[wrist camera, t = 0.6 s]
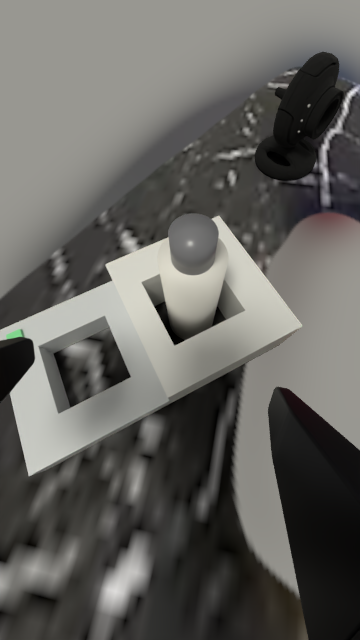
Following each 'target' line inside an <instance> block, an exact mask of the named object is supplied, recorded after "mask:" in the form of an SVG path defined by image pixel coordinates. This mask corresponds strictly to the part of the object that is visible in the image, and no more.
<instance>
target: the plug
mask: <svg viewBox="0 0 360 640" xmlns="http://www.w3.org/2000/svg"><path fill="white" fill-rule="evenodd" d="M218 236H219V231H218V227H217V225H216V224H215V222H214V221H213V220H212V219H210V218H209V217H207V216H205V215H201V214H186V215H183V216H180V217H179V218H177V219H176V220H174V222H173V223H172V224H171V226H170V228H169V231H168V238H167V239H166V240H165V241H164V242H163V243H162V245H161V246H160V248H159V251H158V257H157V260H158V266H159V271H160V277H161V282H162V287H163V292H164V297H165V302H166V307H167V312H168V317H169V322H170V327H171V329H172V331H173V332H174V333H175V334H176V335H177V336H178V337H180V338H182V339H184V340H187V339H189V338H191V337H193V336H195V335H197V334H199V333H201V332H203V331H205V330H207V329H209V328H211V327H212V324H213V320H214V316H215V312H216V308H217V304H218V300H219V296H220V292H221V289H222V285H223V281H224V277H225V273H226V269H227V265H228V258H229V257H228V251H227V248H226V246H225V245H224V243H223V242H222V241H221V239H219V238H218Z"/></svg>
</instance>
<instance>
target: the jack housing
mask: <svg viewBox="0 0 360 640" xmlns="http://www.w3.org/2000/svg"><path fill="white" fill-rule="evenodd" d="M212 220H213V221H214V222H215V224H216V225H217V227H218V231H219V236H218V238H219V239H221V241H222V242H223V243H224V245H225V246H226V248H227V251H228V257H229V258H228V265H227V269H226V273H225V277H224V281H223V285H222V289H221V292H220V296H219V300H218V304H217V306H218V308H219V309H220V311H221V313H222V314H223V316H224V317H225V319H226V320H225V321H223V322H221V323H219V324H217V325H215V326H213V327H211V328H209V329H207V330H205V331H203V332H201V333H199V334H197V335H195V336H193V337H191V338H189V339H187V340H185V341H183V342H181V343H179V344H177V345H175V346H174V344H173V342H172V340H171V338H170V336H169V334H168V332H167V330H166V329H165V327H164V325H163V323H162V321H161V319H160V317H159V315H158V313H157V311H156V309H155V307H154V306H156V305H158V304H160V303H162V302H164V301H165V297H164V292H163V287H162V282H161V277H160V271H159V266H158V260H157V257H158V251H159V248H160V246H161V245H162V243H163V242H164V241H165V240H166V239H167V238H166V239H164V240H161V241H159V242H157V243H154V244H152V245H150V246H147V247H145V248H143V249H140V250H138V251H135V252H133V253H131V254H128V255H126V256H124V257H121V258H119V259H117V260H114V261H112V262H110V263H107V264H105V265H106V267H107V269H108V271H109V274H110V276H111V278H112V280H113V281H111V282H108V283H106V284H104V285H101V286H99V287H97V288H95V289H92V290H90V291H88V292H86V293H83V294H81V295H79V296H76V297H74V298H72V299H70V300H67V301H65V302H63V303H61V304H58V305H56V306H54V307H51V308H49V309H47V310H45V311H42V312H40V313H38V314H35V315H33V316H31V317H29V318H26V319H24V320H22V321H20V322H17V323H15V324H13V325H10V326H8V327H6V328H4V329H1V330H0V341H1V340H6V339H11V338H16V337H25V338H30V339H31V340H32V341H33V344H34V352H35V361H34V363H33V365H32V366H31V367H30V369H29V370H28V371H27V372H26V374H25V375H24V376H23V377H22V379H21V380H20V381H19V382H18V383H17V385H16V386H15V387H14V388H13V390H12V391H11V392H10V396H11V400H12V405H13V409H14V413H15V418H16V422H17V426H18V431H19V435H20V440H21V444H22V448H23V453H24V457H25V461H26V466H27V470H28V474H29V476H31V475H34V474H36V473H39V472H42V471H45V470H47V469H49V468H51V467H53V466H55V465H57V464H59V463H61V462H62V461H64V460H66V459H68V458H70V457H72V456H74V455H75V454H77V453H79V452H81V451H83V450H85V449H87V448H89V447H90V446H92V445H94V444H96V443H98V442H100V441H102V440H103V439H105V438H107V437H109V436H111V435H113V434H115V433H116V432H118V431H120V430H122V429H124V428H126V427H128V426H129V425H131V424H133V423H135V422H137V421H139V420H141V419H142V418H144V417H146V416H148V415H150V414H152V413H154V412H155V411H157V410H159V409H161V408H163V407H165V406H167V405H169V404H170V403H172V402H174V401H176V400H178V399H180V398H182V397H183V396H185V395H187V394H189V393H191V392H193V391H195V390H196V389H198V388H200V387H202V386H204V385H206V384H208V383H209V382H211V381H213V380H215V379H217V378H219V377H221V376H222V375H224V374H226V373H228V372H230V371H232V370H234V369H236V368H237V367H239V366H241V365H243V364H245V363H247V362H249V361H250V360H252V359H254V358H256V357H258V356H260V355H262V354H263V353H265V352H267V351H269V350H271V349H273V348H274V347H276V346H278V345H280V344H281V343H282V342H283V341H285V340H286V339H287V338H288V337H290V336H291V335H292V334H293V333H295V332H296V331H297V330H298V329H300V328H301V327H302V324H301V323H300V322H299V320H298V319H297V318H296V317H295V315H294V314H293V313H292V311H291V310H290V309H289V307H288V306H287V305H286V303H285V302H284V301H283V300H282V298H281V297H280V295H279V294H278V293H277V291H276V290H275V289H274V288H273V286H272V285H271V284H270V282H269V281H268V280H267V278H266V277H265V276H264V274H263V273H262V272H261V270H260V269H259V268H258V266H257V265H256V264H255V262H254V261H253V260H252V258H251V257H250V256H249V255H248V253H247V252H246V251H245V249H244V248H243V247H242V245H241V244H240V243H239V241H238V240H237V239H236V237H235V236H234V235H233V233H232V232H231V231H230V230H229V228H228V227H227V226H226V224H225V223H224V222H223V220H222V219H221V218H220V216H217V217H215V218H213V219H212ZM109 327H110V329H111V331H112V334H113V336H114V338H115V341H116V343H117V345H118V348H119V350H120V352H121V355H122V357H123V359H124V362H125V364H126V366H127V369H128V371H129V373H130V376H131V377H130V378H128V379H126V380H125V381H123V382H121V383H119V384H117V385H115V386H113V387H111V388H109V389H107V390H105V391H103V392H101V393H99V394H97V395H95V396H93V397H91V398H89V399H87V400H85V401H83V402H81V403H79V404H77V405H75V406H73V407H70V404H69V401H68V398H67V395H66V392H65V388H64V385H63V382H62V379H61V376H60V373H59V369H58V366H57V363H56V360H55V357H54V354H53V353H55V352H58V351H60V350H62V349H64V348H66V347H68V346H70V345H73V344H75V343H77V342H79V341H81V340H83V339H85V338H88V337H90V336H92V335H94V334H96V333H98V332H100V331H102V330H105V329H107V328H109Z"/></svg>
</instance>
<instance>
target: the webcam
mask: <svg viewBox="0 0 360 640" xmlns="http://www.w3.org/2000/svg"><path fill="white" fill-rule="evenodd" d="M338 73H339V61H338V59H337V58H336V57H335V56H334V55H333V54H330V53H326V52H321V53H318V54H316V55H314V56H313V57H311V58H310V59H309V60H308V61H307V62H306V63H305V64H304V65H303V67H302V68H301V69H300V70H299V71H298V72H297V74H296V75H295V77H294V78H293V80H292V81H291V83H290V84H289V86H288V88H287V90H285V89H282V88H279V87H278V88H277V89H276V91H275V95H276V96H277V97H279V98H280V99H281V100H282V101H281V103H280V105H279V108H278V112H277V114H276V118H275V123H274V128H273V134H274V136H271V137H268V138H266V139H265V140H263V141H262V142H261V143H260V144H259V146H258V147H257V150H256V152H255V161H256V164H257V166H258V167H259V169H260V170H261V171H262V172H263V173H265V174H266V175H268V176H270V177H272V178H276V179H279V180H291V179H298V178H301V177H303V176H305V175H306V174H308V173H309V172H310V171H311V170H312V168H313V167H314V165H315V162H316V151H315V149H314V147H313V146H312V145H311V144H310V143H309V142H308V141H306V140H305V139H303V138H304V137H305V136H308V137H310V138H312V139H316V138H318V137H319V136H320V135H321V134H322V133H323V132H324V131H325V129H326V128H327V127H328V125H329V124H330V123H331V121H332V119H333V118H334V116H335V114H336V113H337V111H338V109H339V107H340V104H341V102H342V99H343V95H344V93H343V91H341V90H339V89H337V88H335V84H336V81H337V77H338ZM269 151H272V152H275V153H278V154H280V155H282V156H283V157H284V158H286V159H287V160H288V161H289V163H290V166H282V165H278V164H276V163H274V162H272V161H271V160H270V159H269V158H268V157H267V152H269Z"/></svg>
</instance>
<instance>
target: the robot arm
mask: <svg viewBox="0 0 360 640" xmlns="http://www.w3.org/2000/svg"><path fill="white" fill-rule="evenodd" d="M34 361H35V352H34V344H33V341H32V340H31V339H30V338H25V337H16V338H11V339H6V340H1V341H0V403H1V402H2V401H3V400H4V399H5V398H6V397H7V396H8V394H9V393H10V392H11V391H12V390H13V388H14V387H15V386H16V385H17V383H18V382H19V381H20V380H21V379H22V377H23V376H24V375H25V374H26V372H27V371H28V370H29V369H30V367H31V366H32V365H33V363H34ZM268 416H269V427H270V440H271V451H272V459H273V464H274V469H275V474H276V479H277V484H278V489H279V494H280V499H281V504H282V509H283V514H284V519H285V524H286V529H287V534H288V539H289V544H290V549H291V554H292V558H293V563H294V569H295V574H296V579H297V584H298V589H299V594H300V599H301V604H302V609H303V614H304V619H305V624H306V629H307V634H308V639H309V640H360V450H359V449H357V448H356V447H355V446H354V445H353V444H352V443H350V442H349V441H348V440H347V439H346V438H345V437H344V436H343V435H341V434H340V433H339V432H338V431H337V430H335V429H334V428H333V427H332V426H331V425H330V424H329V423H327V422H326V421H325V420H324V419H323V418H322V417H321V416H319V415H318V414H317V413H316V412H315V411H313V410H312V409H311V408H310V407H309V406H308V405H307V404H305V403H304V402H303V401H302V400H301V399H300V398H299V397H297V396H296V395H295V394H294V393H293V392H292V391H290V390H289V389H287V388H282V387H276V388H275V389H274V392H273V395H272V398H271V401H270V404H269V408H268Z"/></svg>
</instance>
